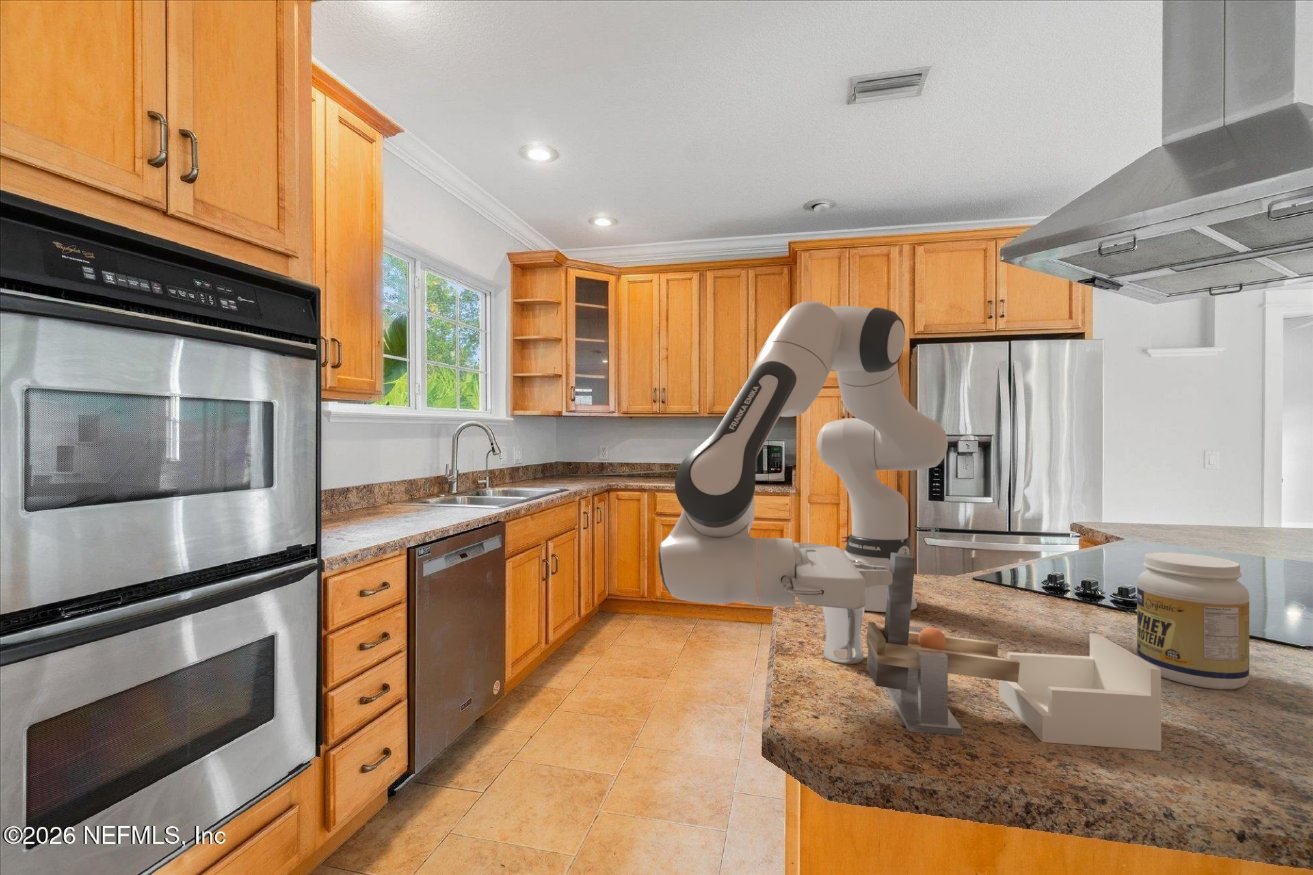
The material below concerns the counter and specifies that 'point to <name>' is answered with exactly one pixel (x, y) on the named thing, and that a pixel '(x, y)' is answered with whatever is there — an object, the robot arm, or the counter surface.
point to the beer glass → (843, 633)
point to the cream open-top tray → (1088, 697)
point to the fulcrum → (926, 696)
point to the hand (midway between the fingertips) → (890, 575)
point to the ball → (932, 639)
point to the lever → (900, 646)
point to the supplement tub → (1194, 620)
